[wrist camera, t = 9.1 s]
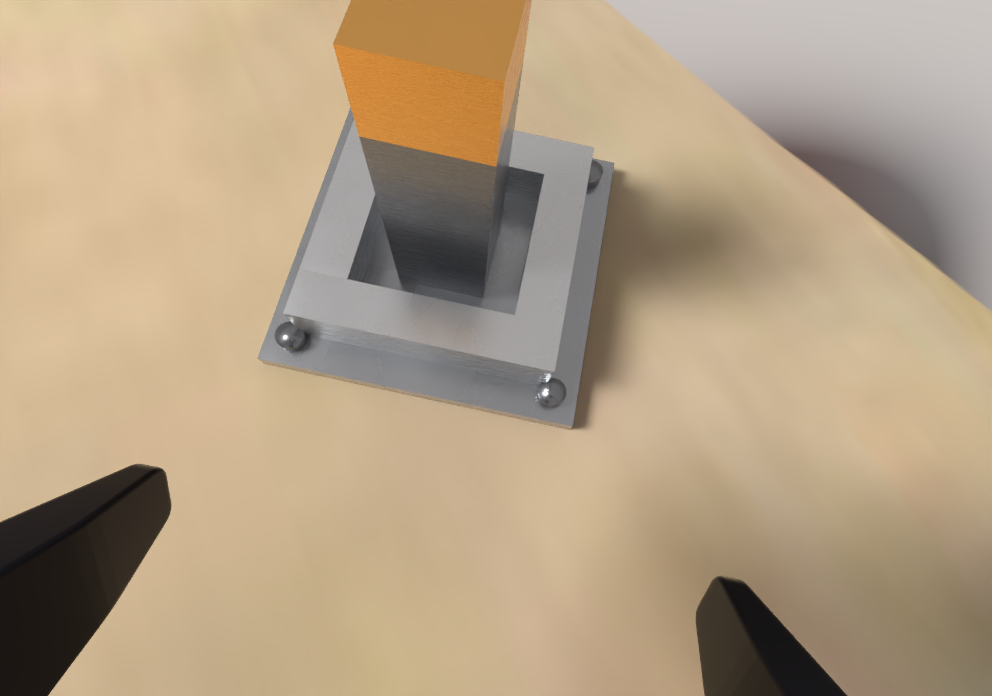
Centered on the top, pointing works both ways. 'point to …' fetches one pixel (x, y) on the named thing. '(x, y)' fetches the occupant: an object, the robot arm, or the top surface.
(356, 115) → the orange and grey post
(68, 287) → the top surface
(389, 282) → the metal post socket
